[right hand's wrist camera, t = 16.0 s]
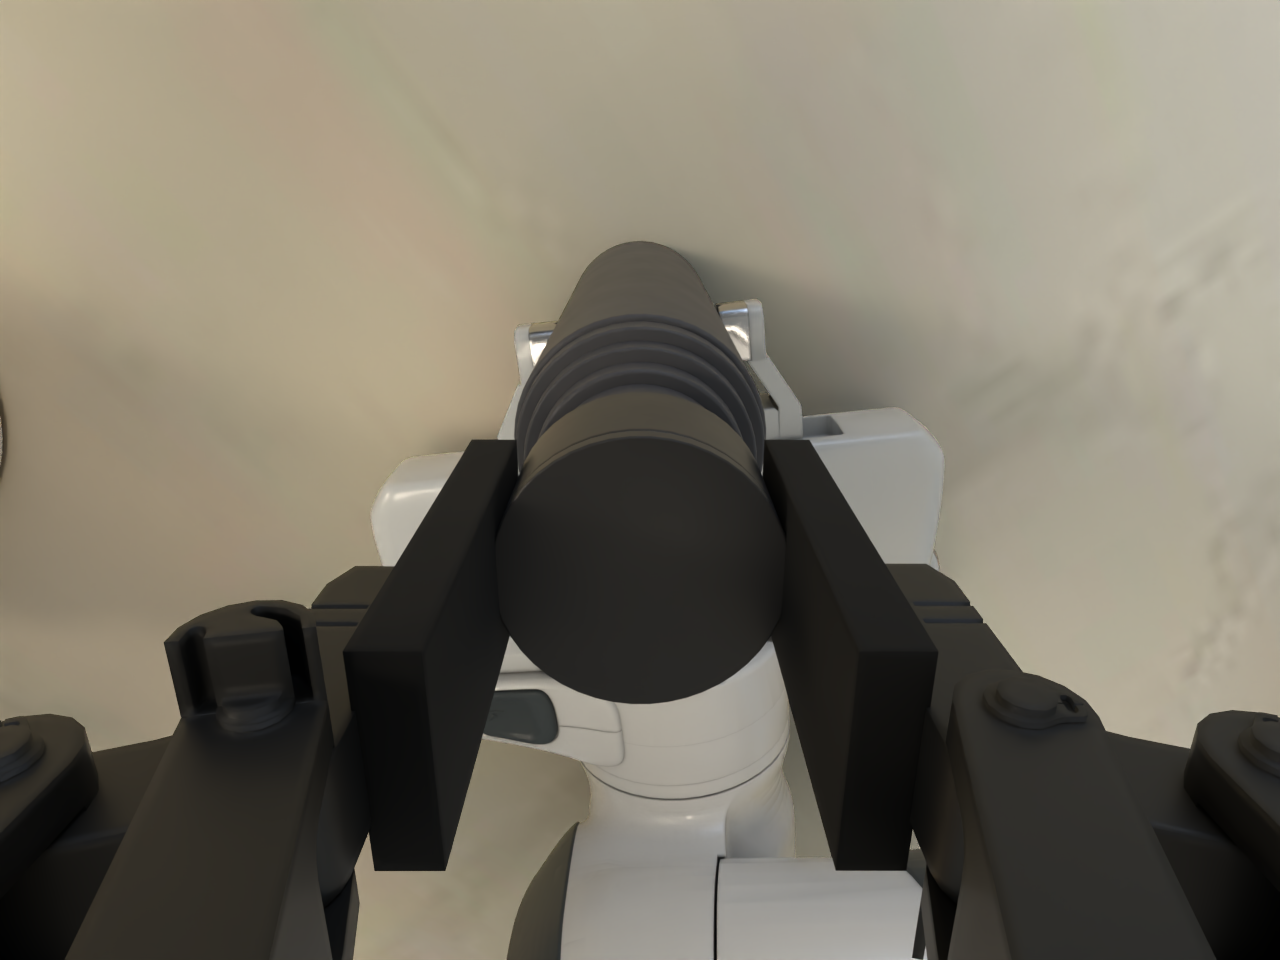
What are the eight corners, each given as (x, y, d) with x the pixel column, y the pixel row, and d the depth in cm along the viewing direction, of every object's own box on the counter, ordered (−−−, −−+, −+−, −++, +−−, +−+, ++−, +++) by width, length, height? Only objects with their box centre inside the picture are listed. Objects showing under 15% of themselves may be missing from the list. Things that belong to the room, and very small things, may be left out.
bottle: (546, 318, 34) (385, 586, 13) (630, 211, 33) (613, 304, 11) (648, 401, 36) (662, 773, 14) (734, 301, 34) (900, 542, 12)
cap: (651, 666, 15) (653, 752, 13) (463, 524, 14) (430, 591, 12) (819, 502, 14) (853, 566, 12) (627, 335, 13) (625, 371, 11)
